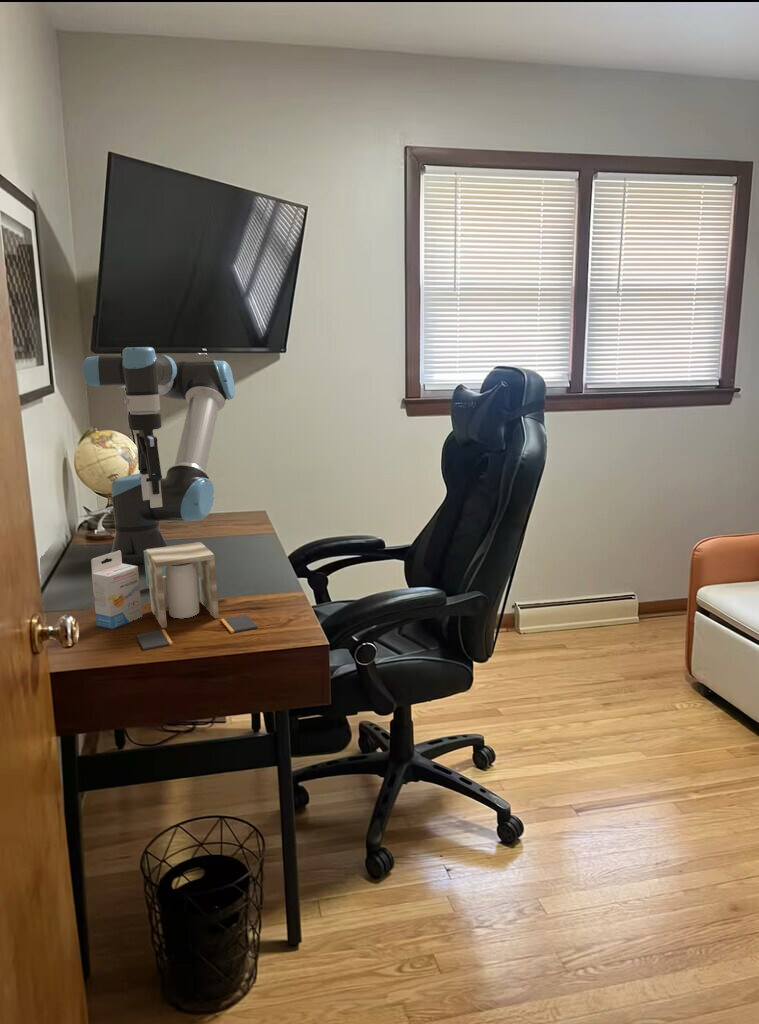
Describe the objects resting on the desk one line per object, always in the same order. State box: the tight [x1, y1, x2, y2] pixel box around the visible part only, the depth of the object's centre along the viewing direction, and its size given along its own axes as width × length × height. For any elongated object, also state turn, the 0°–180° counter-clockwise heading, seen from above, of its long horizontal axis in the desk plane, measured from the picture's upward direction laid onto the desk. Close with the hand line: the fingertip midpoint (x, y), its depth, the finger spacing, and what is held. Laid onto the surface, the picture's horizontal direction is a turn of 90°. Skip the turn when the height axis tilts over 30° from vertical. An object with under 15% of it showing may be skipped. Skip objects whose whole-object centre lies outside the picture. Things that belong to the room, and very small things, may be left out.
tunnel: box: [146, 541, 220, 629], centre depth 162 cm, size 12×12×14 cm
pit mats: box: [135, 614, 259, 651], centre depth 153 cm, size 8×23×1 cm, turn 117°
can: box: [166, 562, 200, 620], centre depth 162 cm, size 6×6×12 cm
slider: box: [144, 550, 169, 609], centre depth 175 cm, size 19×8×9 cm, turn 27°
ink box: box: [90, 550, 143, 630], centre depth 159 cm, size 8×5×15 cm, turn 152°
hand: (152, 503), depth 185 cm, fingers open, 10 cm apart
